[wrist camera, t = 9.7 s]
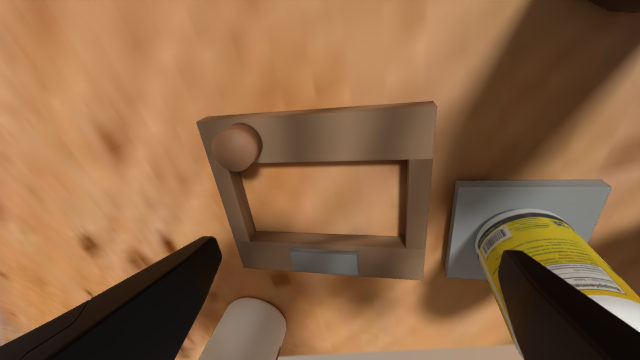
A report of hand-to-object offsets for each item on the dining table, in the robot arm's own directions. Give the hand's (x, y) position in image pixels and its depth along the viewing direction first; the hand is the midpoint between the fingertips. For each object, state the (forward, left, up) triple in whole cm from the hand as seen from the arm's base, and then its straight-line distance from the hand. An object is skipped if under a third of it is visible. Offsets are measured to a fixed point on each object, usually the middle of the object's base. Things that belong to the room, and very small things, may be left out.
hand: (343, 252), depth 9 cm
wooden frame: (+4, +6, -13) cm, 15 cm away
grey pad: (-11, +9, -13) cm, 19 cm away
